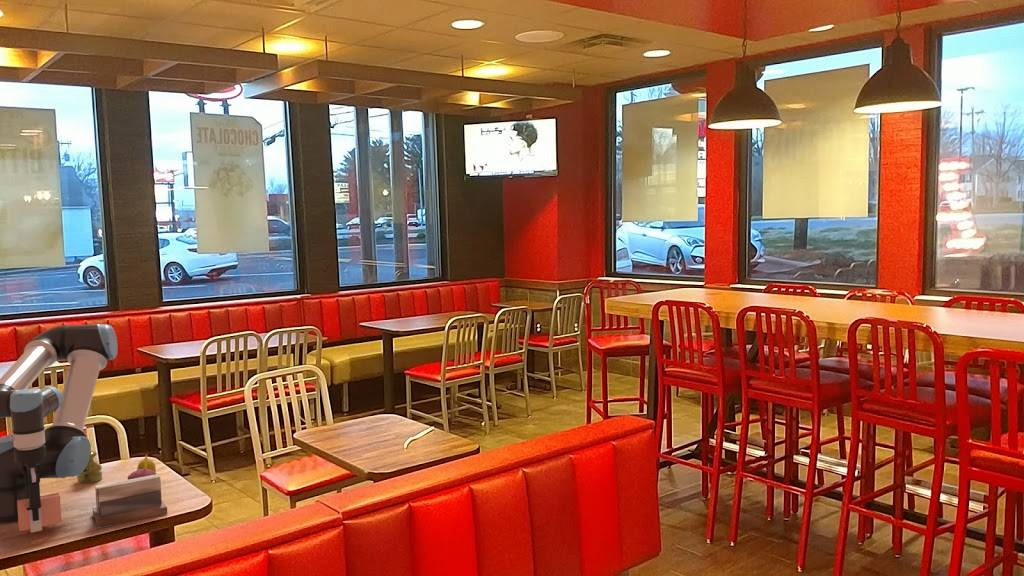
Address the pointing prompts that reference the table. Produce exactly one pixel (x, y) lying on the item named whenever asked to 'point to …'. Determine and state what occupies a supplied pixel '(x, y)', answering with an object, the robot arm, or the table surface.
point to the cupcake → (142, 472)
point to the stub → (48, 511)
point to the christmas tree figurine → (90, 471)
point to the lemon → (149, 465)
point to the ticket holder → (128, 501)
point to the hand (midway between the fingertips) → (35, 528)
